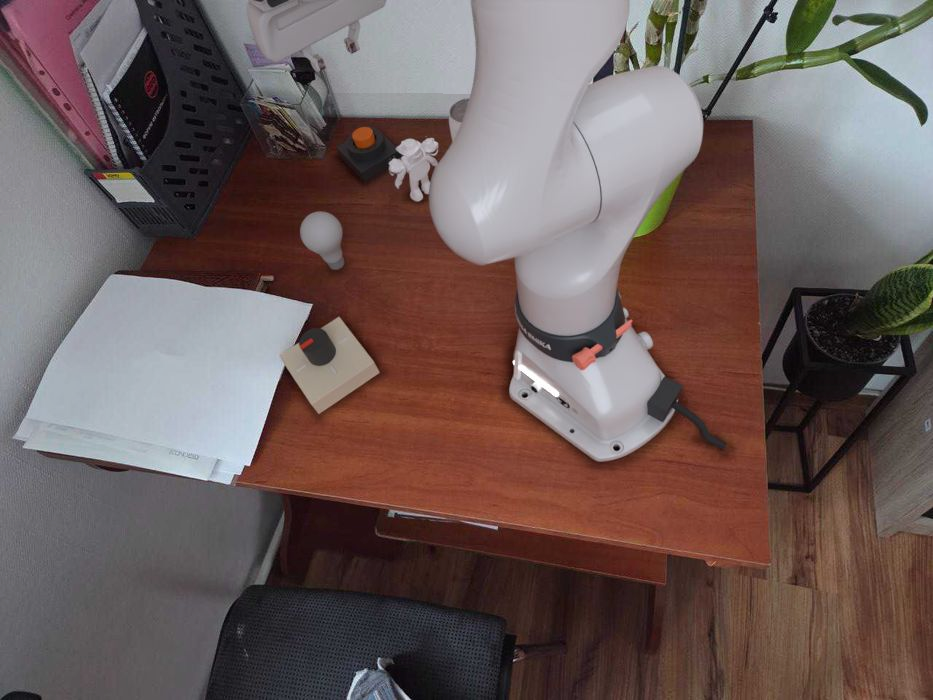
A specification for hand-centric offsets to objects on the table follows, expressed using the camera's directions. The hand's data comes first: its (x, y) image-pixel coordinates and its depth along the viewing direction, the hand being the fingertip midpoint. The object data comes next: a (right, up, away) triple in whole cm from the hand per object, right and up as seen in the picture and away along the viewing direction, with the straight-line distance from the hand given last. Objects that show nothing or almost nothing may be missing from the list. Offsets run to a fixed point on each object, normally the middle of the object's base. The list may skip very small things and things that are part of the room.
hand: (336, 59), depth 94 cm
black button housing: (+3, -10, +16) cm, 19 cm away
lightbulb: (-1, -31, +4) cm, 31 cm away
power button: (+2, -8, +13) cm, 16 cm away
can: (+22, -14, +11) cm, 28 cm away
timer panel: (+1, -47, -6) cm, 47 cm away
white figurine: (+12, -18, +10) cm, 24 cm away
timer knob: (0, -45, -9) cm, 46 cm away
